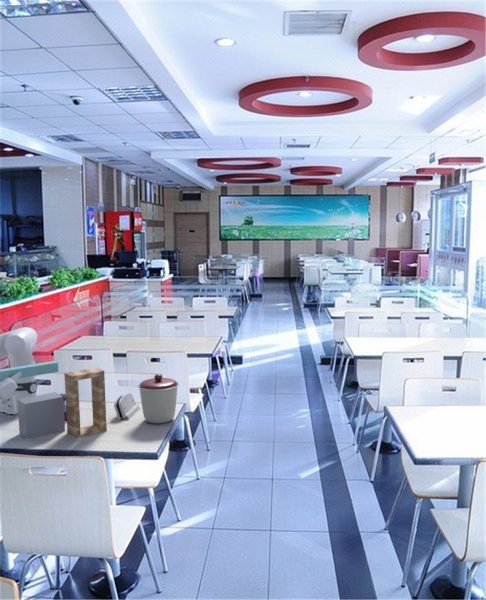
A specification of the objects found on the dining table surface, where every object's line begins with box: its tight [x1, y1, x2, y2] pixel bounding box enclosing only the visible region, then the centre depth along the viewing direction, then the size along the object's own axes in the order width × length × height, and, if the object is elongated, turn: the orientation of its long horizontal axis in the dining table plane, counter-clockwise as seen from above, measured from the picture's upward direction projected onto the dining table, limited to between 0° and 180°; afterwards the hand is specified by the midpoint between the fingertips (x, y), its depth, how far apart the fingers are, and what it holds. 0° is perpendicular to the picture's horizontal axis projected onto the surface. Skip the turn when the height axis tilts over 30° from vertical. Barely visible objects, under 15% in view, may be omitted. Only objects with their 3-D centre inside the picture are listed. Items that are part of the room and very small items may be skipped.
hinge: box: [113, 393, 141, 420], centre depth 257 cm, size 17×5×10 cm, turn 172°
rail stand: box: [63, 367, 108, 439], centre depth 232 cm, size 14×8×26 cm, turn 130°
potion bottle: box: [59, 393, 67, 422], centre depth 248 cm, size 9×9×12 cm
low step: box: [17, 391, 66, 441], centre depth 232 cm, size 16×9×15 cm, turn 130°
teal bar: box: [0, 360, 59, 381], centre depth 227 cm, size 24×4×4 cm, turn 129°
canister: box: [137, 373, 180, 425], centre depth 246 cm, size 18×18×21 cm
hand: (18, 371), depth 224 cm, fingers closed on teal bar, 4 cm apart
